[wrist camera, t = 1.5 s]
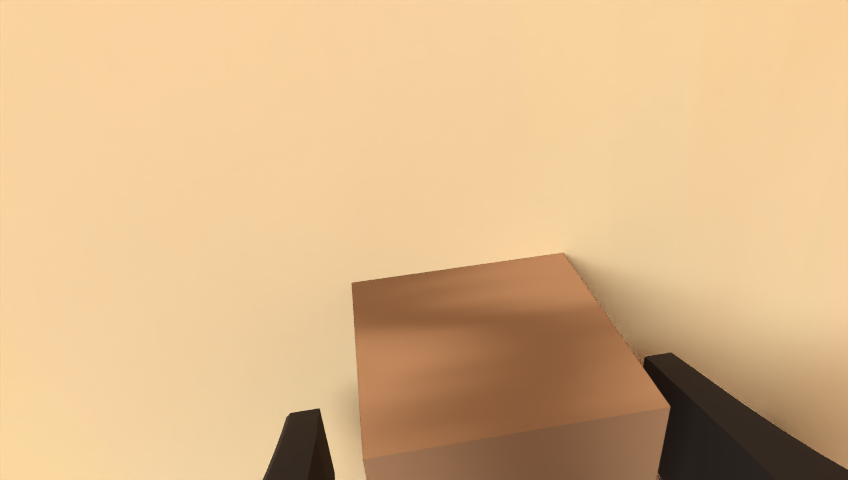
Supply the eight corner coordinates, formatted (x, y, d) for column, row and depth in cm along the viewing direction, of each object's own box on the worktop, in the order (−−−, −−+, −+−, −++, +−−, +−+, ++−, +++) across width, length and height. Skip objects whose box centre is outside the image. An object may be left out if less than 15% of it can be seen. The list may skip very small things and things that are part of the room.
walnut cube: (376, 432, 16) (395, 628, 11) (351, 280, 13) (363, 459, 9) (553, 402, 16) (636, 580, 12) (561, 250, 14) (670, 406, 9)
